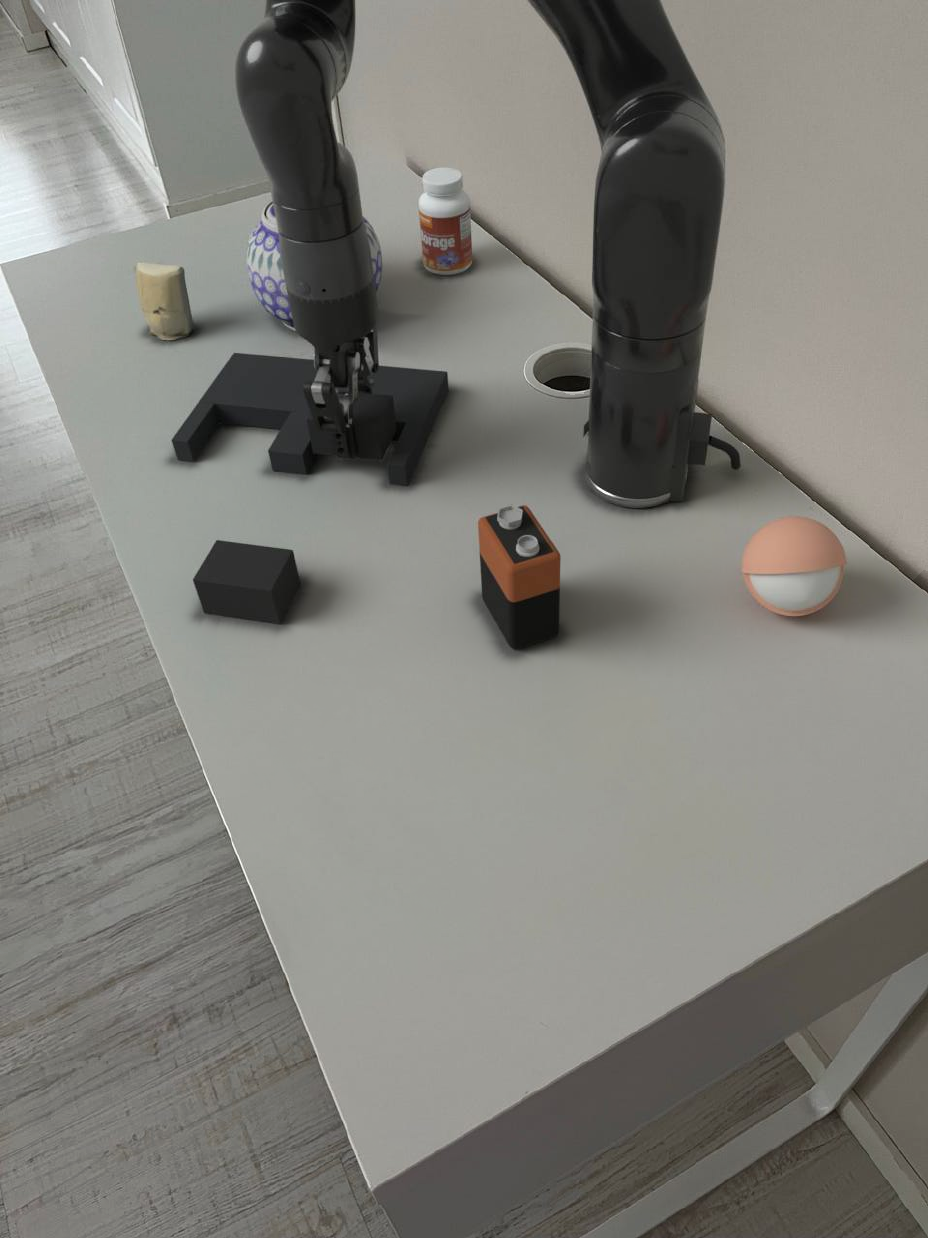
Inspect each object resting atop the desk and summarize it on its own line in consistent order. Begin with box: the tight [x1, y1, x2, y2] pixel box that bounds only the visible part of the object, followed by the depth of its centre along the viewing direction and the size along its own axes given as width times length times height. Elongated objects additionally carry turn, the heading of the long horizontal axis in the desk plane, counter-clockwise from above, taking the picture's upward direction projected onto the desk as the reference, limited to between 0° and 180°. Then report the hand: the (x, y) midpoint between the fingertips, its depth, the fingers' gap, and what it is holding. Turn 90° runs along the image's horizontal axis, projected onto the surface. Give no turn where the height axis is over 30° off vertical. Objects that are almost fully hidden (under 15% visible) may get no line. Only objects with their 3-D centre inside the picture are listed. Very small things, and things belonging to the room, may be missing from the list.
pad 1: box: [192, 539, 302, 625], centre depth 87 cm, size 7×5×4 cm
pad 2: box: [307, 391, 397, 462], centre depth 98 cm, size 7×5×4 cm
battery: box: [477, 504, 561, 650], centre depth 81 cm, size 4×7×10 cm, turn 21°
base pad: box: [171, 352, 450, 487], centre depth 104 cm, size 24×16×2 cm, turn 76°
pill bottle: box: [418, 167, 473, 276], centre depth 123 cm, size 6×6×11 cm
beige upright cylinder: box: [133, 261, 195, 341], centre depth 117 cm, size 6×5×8 cm
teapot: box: [246, 182, 383, 332], centre depth 116 cm, size 25×15×15 cm, turn 21°
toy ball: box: [741, 515, 848, 617], centre depth 81 cm, size 8×8×8 cm
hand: (355, 437), depth 99 cm, fingers closed on pad 2, 5 cm apart
